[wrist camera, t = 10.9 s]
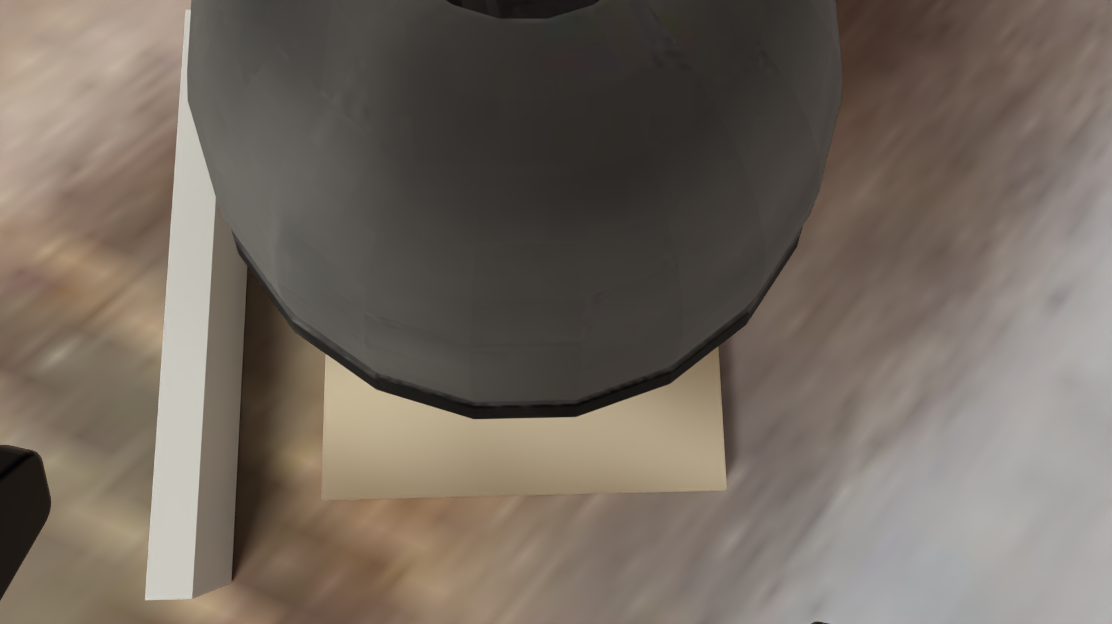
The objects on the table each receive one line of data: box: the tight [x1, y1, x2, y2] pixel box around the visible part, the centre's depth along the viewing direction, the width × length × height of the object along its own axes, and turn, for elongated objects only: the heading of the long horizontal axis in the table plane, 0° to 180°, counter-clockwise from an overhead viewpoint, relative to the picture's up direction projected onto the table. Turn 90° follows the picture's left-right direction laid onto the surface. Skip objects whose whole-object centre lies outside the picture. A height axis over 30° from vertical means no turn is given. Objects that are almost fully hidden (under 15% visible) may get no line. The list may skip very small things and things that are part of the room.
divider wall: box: [145, 10, 247, 600], centre depth 20 cm, size 14×1×2 cm, turn 1°
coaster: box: [321, 347, 727, 500], centre depth 21 cm, size 10×10×1 cm
